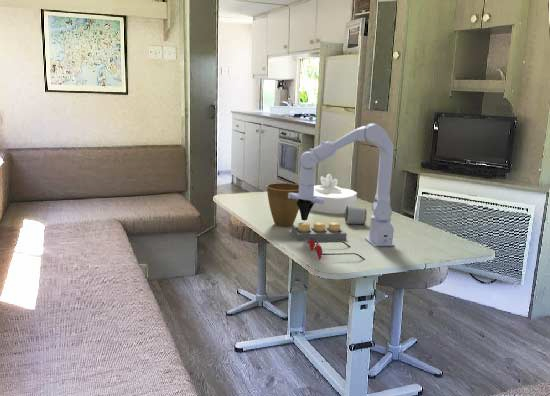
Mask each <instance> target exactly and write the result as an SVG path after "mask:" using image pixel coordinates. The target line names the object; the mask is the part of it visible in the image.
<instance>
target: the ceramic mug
mask: <svg viewBox="0 0 550 396" xmlns="http://www.w3.org/2000/svg"><path fill="white" fill-rule="evenodd" d="M366 222H367V209H366V208H365V207H361V206H357V205H356V206H347V207H346V211H345V213H344V223H345V224H346V225H348V224H349V225H364V224H366Z"/></svg>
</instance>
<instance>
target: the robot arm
mask: <svg viewBox="0 0 550 396" xmlns="http://www.w3.org/2000/svg"><path fill="white" fill-rule="evenodd" d="M366 140H367V141H368V142H370V143H371V144H374V145H375V146H376V147H377V148H378V149H379V158H378V169H377V170H378V172H377V181H376V191H375V192H376V193H375V195H374V196H375V197H374V201H373V202H372V204H371V211H372V212H373V214H372V215H371V216H370V225H369V235H368V236H367V237H365V238H364V239H365V240H366V241H367V242H369V243H370V244H371V245H372V246H374V247H391V246H392V247H393V246H395V243H394V242H393V239H394V231H395V229H394V227H393V225H392V223H391V219H392V218H391V217H392V214H393V210H392V207H391V196H390V194H391V193H390V192H391V183H392V173H393V171H392V170H393V161H394V150H395V147H394V146H395V145H394V144H393V142H392V140H391V138H390V136H389V134H388V132H387V131H386V130H385V129H384V128H383V127H382V126H381V125H378V124H377V123H374V122H369V123H368V124H366V125H362V126H360V127H357V128H355V129H353V130H352V131H350V132H348V133H346V134H345V135H343V136H342V137H340V138H338V139H335V141H334V140H333V141H329V140H327V141H324V140H323V141H322V142H320V144H319V145H316V146H315V147H314V148H312V147H310V148H309V149H308V150H309V151H304V152H303V153H302V154H301V156H300V159H299V160H300V167H299V168H300V171H299V175H298V176H299V179H298V185H299V192H298V193H288V198H292V199H297V200H298V202H297V205H298V208H299V210H298V211H299V212H300V213H299V214H300V218H301V221H307V220H308V217H309V214H310V213H311V211H312V210H311V208H312V207H313V205H314V203H318V204H321V205H322V204H324V199H323V198H319V197H316V196H314V186H315V180H316V172H315V169H316V166H317V163H318V164H319V163H322V162H325V161H326V160H328V159H330V158H331V157H335V156H336V153H337V150H340V149H341V148H344V147H346V146H348V145H350V144H353V143H354V142H356V141H358V142H361V141H362V142H365V141H366Z"/></svg>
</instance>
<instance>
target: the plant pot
mask: <svg viewBox="0 0 550 396" xmlns="http://www.w3.org/2000/svg"><path fill="white" fill-rule="evenodd" d="M266 192H267V198H268V204H269V210H270V213H271V216H272V221H273V222H274V225H276V226H277V227H281V226H282V228H284V227H285V228H290V227H293V225H294V223H295V221H296V218H297V215H298V213H299V211H300V210H299V208H298V205H297V202H298V200H297V199H292V198H288V193H298V192H299V184H297V183H291V182H290V183H286V182H277V183H276V182H275V183H270V184H267V185H266Z"/></svg>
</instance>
